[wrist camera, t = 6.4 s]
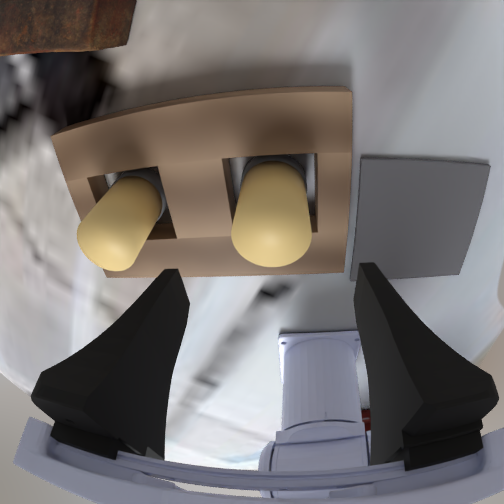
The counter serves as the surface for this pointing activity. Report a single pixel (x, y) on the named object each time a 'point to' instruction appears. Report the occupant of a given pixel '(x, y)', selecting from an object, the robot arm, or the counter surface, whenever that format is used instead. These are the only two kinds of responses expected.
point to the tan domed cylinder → (122, 219)
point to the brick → (63, 25)
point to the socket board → (217, 171)
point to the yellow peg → (272, 212)
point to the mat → (416, 215)
